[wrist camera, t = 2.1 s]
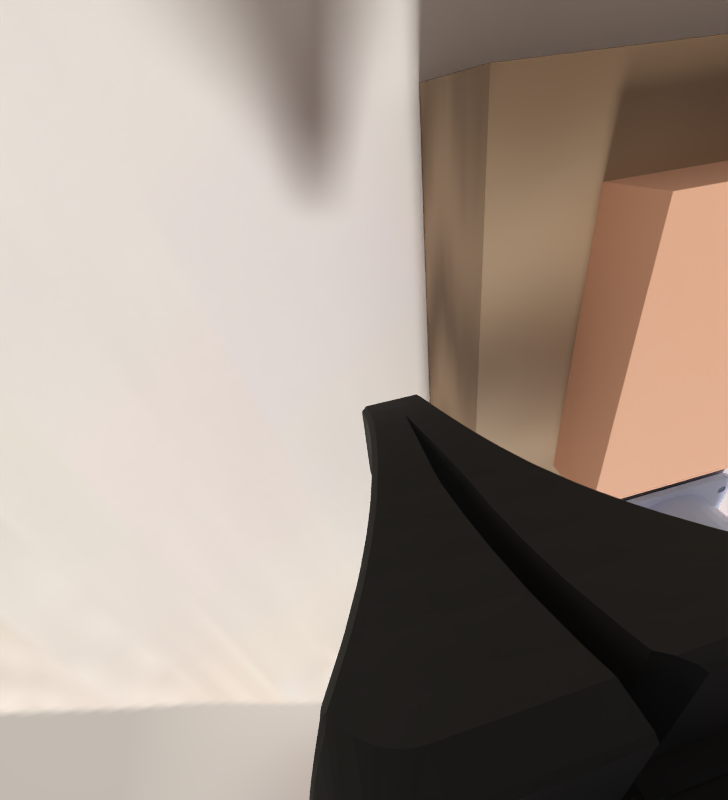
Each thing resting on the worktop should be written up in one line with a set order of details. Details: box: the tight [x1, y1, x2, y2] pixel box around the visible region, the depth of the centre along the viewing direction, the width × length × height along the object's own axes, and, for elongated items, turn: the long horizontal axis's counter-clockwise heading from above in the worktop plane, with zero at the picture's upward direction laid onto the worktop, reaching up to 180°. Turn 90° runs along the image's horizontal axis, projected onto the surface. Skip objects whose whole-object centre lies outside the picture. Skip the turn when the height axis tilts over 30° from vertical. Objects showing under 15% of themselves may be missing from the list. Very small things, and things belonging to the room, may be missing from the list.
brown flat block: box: [420, 34, 728, 477], centre depth 15 cm, size 14×16×4 cm
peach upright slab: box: [554, 161, 728, 499], centre depth 12 cm, size 9×6×2 cm, turn 6°
